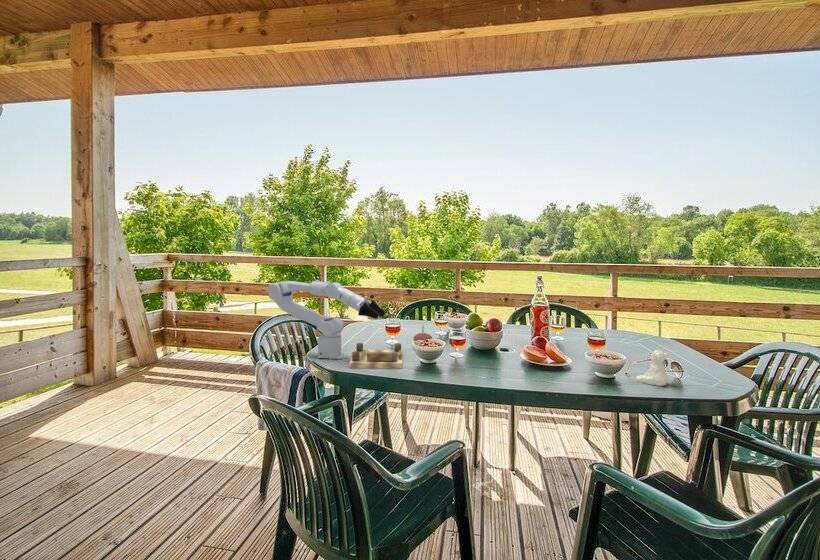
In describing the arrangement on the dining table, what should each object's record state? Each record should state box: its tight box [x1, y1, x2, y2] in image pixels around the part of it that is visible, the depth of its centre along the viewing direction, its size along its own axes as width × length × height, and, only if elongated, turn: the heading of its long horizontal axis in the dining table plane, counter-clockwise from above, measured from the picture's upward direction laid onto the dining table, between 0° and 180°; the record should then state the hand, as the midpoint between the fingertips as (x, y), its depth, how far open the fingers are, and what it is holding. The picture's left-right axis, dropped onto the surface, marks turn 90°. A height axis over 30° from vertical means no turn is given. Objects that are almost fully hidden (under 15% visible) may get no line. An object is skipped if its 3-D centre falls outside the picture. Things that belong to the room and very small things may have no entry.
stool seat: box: [348, 342, 404, 370], centre depth 173 cm, size 20×20×5 cm
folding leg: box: [367, 352, 398, 361], centre depth 166 cm, size 12×2×3 cm, turn 91°
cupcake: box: [412, 324, 433, 342], centre depth 193 cm, size 9×8×12 cm
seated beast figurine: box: [635, 349, 669, 387], centre depth 149 cm, size 10×9×12 cm
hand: (381, 315), depth 171 cm, fingers open, 7 cm apart
